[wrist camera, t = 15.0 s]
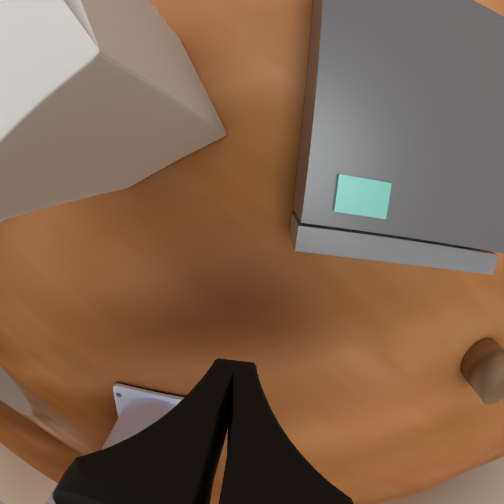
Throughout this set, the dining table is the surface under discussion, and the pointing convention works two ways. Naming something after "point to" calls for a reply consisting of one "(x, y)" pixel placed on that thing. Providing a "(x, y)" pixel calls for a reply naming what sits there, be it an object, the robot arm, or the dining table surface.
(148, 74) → the milk carton
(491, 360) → the brown cylinder
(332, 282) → the dining table surface
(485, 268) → the grey drawer
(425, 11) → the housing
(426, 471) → the dining table surface
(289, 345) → the dining table surface
